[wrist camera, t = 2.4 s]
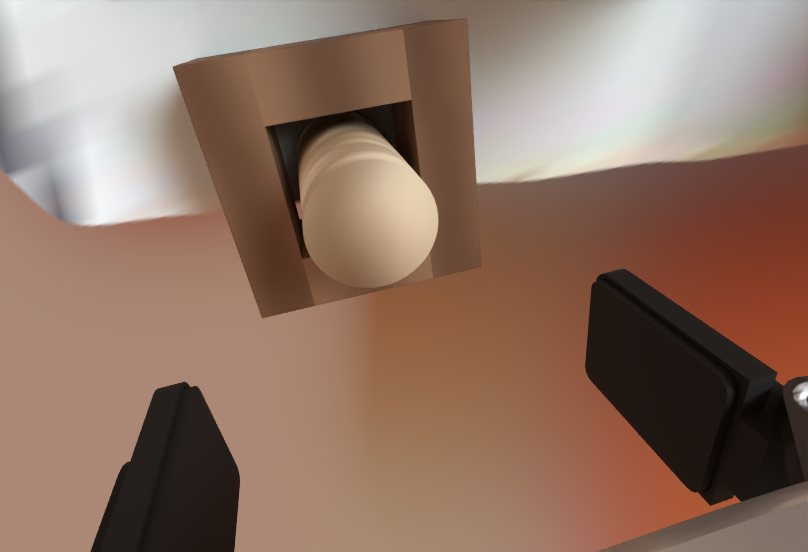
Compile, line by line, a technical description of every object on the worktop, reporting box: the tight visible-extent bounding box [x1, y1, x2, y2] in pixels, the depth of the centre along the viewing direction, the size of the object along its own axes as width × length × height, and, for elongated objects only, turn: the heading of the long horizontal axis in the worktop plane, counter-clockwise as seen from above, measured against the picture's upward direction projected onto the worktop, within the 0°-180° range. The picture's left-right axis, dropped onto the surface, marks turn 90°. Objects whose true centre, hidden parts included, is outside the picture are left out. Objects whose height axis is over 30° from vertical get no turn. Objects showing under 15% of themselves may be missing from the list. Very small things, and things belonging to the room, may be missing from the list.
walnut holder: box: [173, 19, 481, 318], centre depth 26 cm, size 13×13×6 cm
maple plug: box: [297, 111, 438, 288], centre depth 23 cm, size 5×5×12 cm
